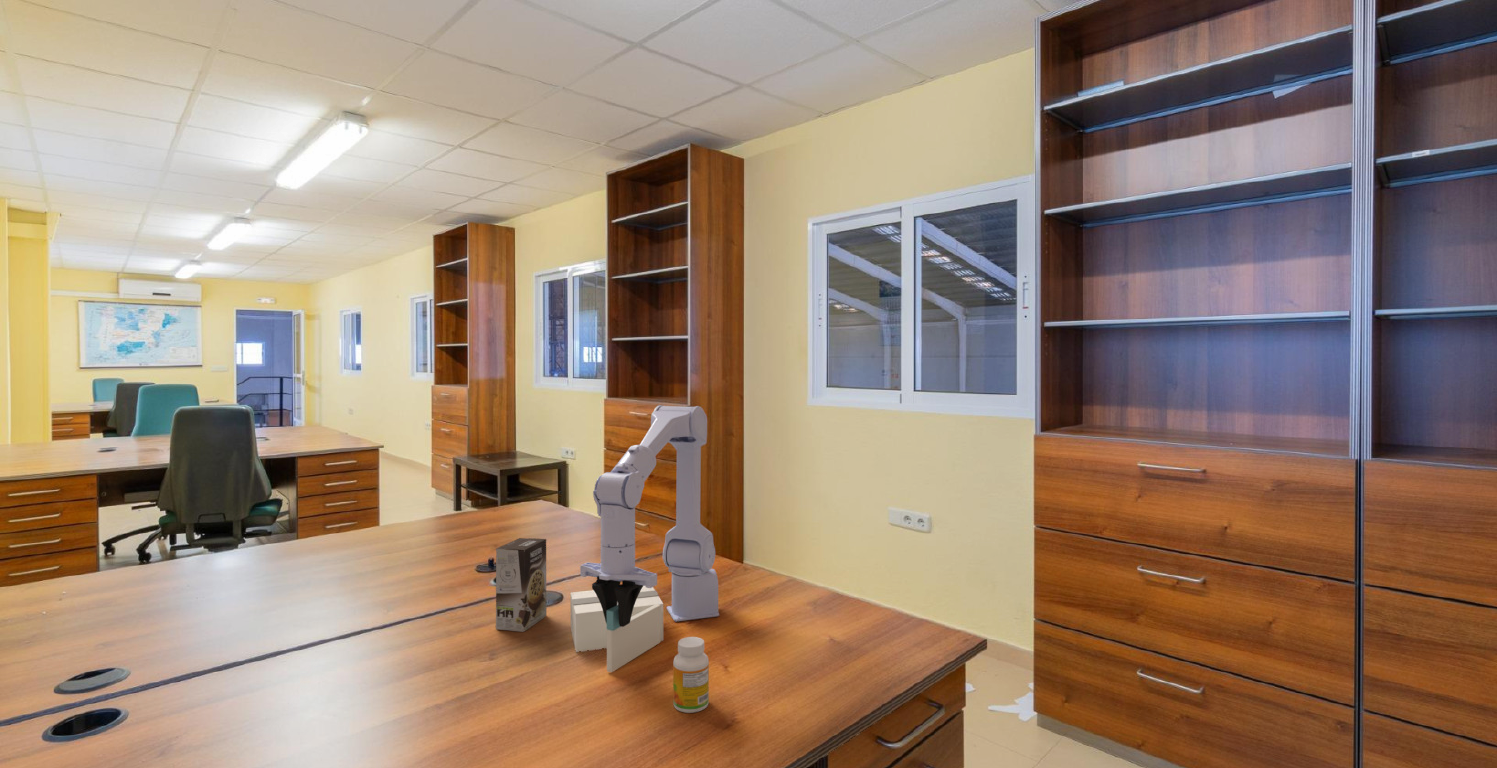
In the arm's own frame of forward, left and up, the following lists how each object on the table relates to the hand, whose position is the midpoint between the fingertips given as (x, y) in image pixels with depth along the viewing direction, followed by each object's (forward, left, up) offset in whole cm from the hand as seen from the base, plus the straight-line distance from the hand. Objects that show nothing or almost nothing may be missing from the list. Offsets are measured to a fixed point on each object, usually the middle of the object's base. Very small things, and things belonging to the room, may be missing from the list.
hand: (617, 623), depth 114 cm
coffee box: (+15, -28, -8) cm, 33 cm away
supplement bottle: (-9, +15, -8) cm, 20 cm away
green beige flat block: (-4, -4, -8) cm, 9 cm away
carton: (-2, -16, -8) cm, 18 cm away
